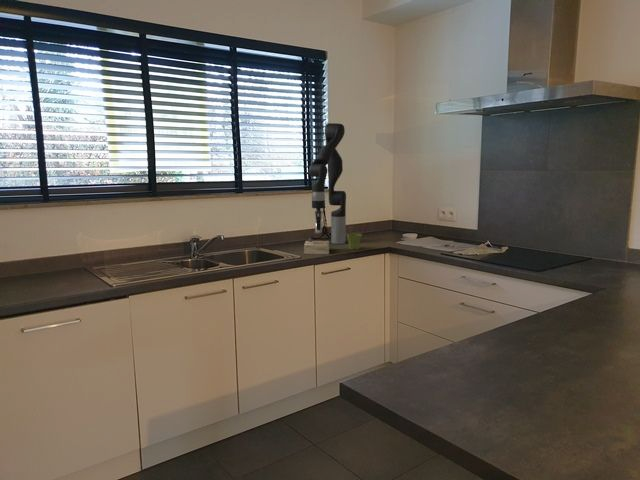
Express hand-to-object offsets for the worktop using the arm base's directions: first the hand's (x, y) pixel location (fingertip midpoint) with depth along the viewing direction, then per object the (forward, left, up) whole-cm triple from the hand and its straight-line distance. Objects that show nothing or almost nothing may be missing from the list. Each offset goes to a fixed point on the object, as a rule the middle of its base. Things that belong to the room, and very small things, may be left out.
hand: (318, 229), depth 269 cm
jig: (0, -1, -13) cm, 13 cm away
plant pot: (-8, +21, -13) cm, 26 cm away
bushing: (0, 0, -2) cm, 2 cm away
